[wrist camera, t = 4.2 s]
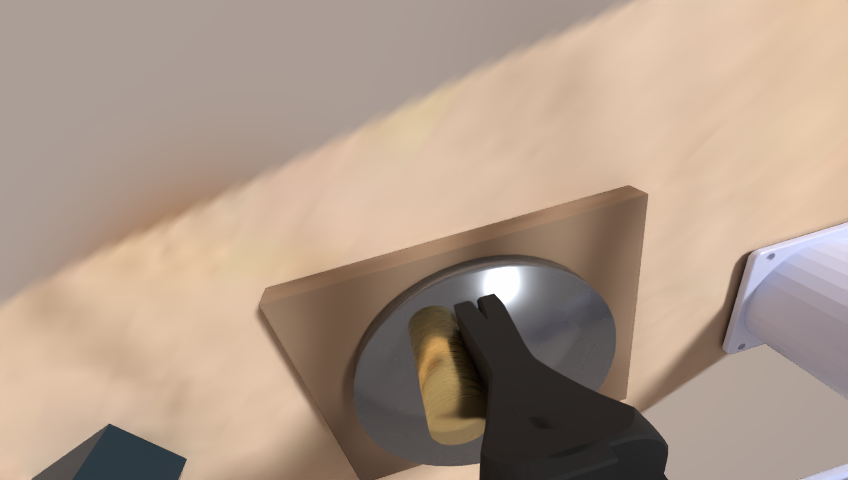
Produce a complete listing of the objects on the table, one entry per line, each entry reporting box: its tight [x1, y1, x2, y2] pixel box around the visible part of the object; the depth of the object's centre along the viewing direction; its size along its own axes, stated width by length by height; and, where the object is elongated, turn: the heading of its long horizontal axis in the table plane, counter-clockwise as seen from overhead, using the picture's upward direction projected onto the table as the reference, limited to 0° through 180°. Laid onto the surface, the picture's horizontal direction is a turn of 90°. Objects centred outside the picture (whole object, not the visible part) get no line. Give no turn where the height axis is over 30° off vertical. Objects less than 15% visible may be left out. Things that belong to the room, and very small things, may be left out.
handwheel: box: [354, 254, 616, 466], centre depth 15 cm, size 13×13×6 cm
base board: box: [259, 185, 648, 480], centre depth 18 cm, size 17×14×1 cm
